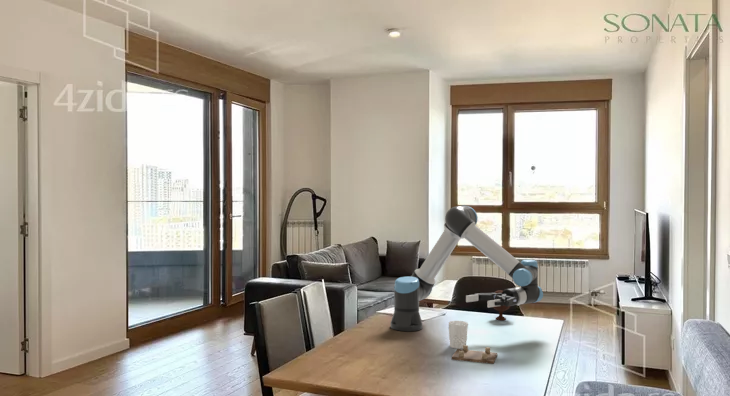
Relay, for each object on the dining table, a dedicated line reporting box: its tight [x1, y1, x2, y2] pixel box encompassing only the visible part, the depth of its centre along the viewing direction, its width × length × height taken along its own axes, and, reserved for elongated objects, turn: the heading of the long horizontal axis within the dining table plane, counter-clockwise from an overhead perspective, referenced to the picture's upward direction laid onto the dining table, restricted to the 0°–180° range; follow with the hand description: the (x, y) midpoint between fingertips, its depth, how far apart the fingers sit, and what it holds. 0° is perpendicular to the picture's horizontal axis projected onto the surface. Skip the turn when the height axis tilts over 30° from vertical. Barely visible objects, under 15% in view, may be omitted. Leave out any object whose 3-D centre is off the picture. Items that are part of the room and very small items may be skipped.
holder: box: [451, 344, 498, 365], centre depth 226 cm, size 16×12×3 cm
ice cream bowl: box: [492, 289, 511, 322], centre depth 292 cm, size 11×11×15 cm
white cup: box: [448, 320, 469, 350], centre depth 241 cm, size 8×8×10 cm
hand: (476, 301), depth 246 cm, fingers open, 13 cm apart
